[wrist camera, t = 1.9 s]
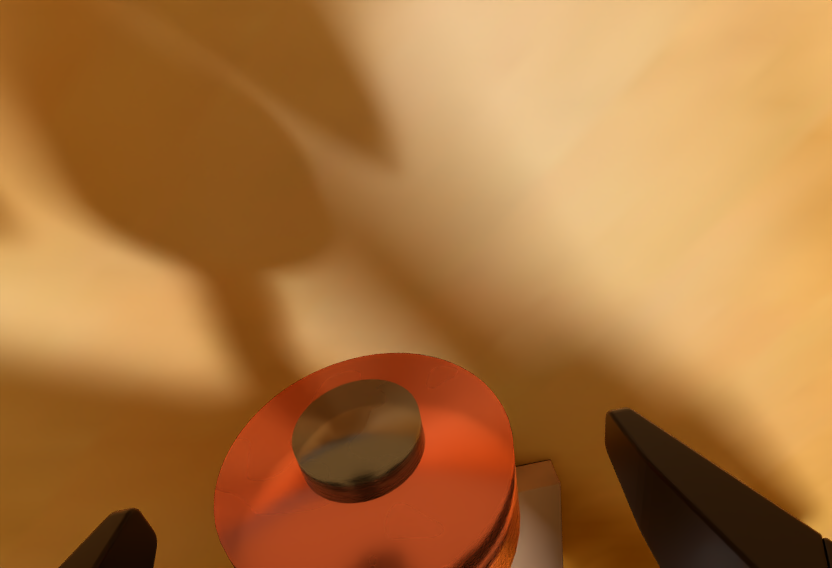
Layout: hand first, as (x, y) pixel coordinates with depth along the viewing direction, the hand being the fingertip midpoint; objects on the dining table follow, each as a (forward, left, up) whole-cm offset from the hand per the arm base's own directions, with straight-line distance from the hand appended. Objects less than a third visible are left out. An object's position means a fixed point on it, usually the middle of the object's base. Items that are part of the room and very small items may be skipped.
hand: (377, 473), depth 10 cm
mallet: (0, +6, -2) cm, 7 cm away
